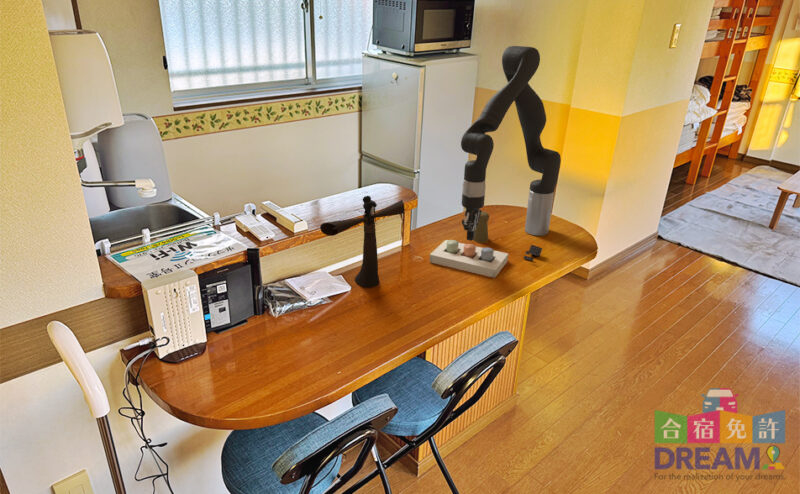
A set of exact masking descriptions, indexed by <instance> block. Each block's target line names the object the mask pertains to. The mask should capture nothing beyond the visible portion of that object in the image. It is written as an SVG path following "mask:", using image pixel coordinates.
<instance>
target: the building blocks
mask: <svg viewBox="0 0 800 494" xmlns="http://www.w3.org/2000/svg"><path fill="white" fill-rule="evenodd" d="M542 250H543V248H542V247H539V246H536V245H533V244H531V245H530V246H529V250H526V251H525V255H524V256H523V259H525V260H527V261H530V262H533V261H534V257H530V256H529V255H533V256H536V257H540V256H541V254H542Z"/></svg>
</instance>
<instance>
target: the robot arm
mask: <svg viewBox="0 0 800 494" xmlns="http://www.w3.org/2000/svg"><path fill="white" fill-rule="evenodd" d="M540 62H541V55H540V52H539V49H537V48H536V47H534V46H525V45H524V46H519V45H511V46H508V47H506V48H505V49H504V50H503V53H502V56H501V67H502V69H503V73H504V76H505V78H506V81H507V83H506V84H505V85H504V86H503V87H501V89H499V90H498V91H497V92H496V93H495V94H493V95H492V96H491V97H490V98H489V100H488V101H487V103H486V104H485V106H484V107H483V109H482V111H481V113H480V115H479V117H478V118H477V119H476V120H475V121H474V122H473V123H472V124H471V125H470V126H469V127H468V128H467V130H465V132H464V133H463V135H462V137H461V140H460V147H461V150H462V151H464V153H468V154H470V155H475V156H476V158H475V159H474V160H468V161H466V162H465V165H464V170H463V171H464V173H463V183H462V189H461V190H462V191H461V206H462V207H463V208H465V211H464V217H465V218H464V219H462V220H461V224H462V226H463V229H464V231H466V240H467V241H474V240H473V239H474V232H475V229H476V226H477V225H478V222H479V218H480V215H481V212H483V210H482V208H483V207H484V206H485V200H486V199H485V197H486V178H487V177H486V176H487V168H488V164H489V161H490V159H491V156H492V153H493V150H494V145H495V143H494V139H493V137H492V136H491V135H489V134H487V133H492V132H496V131H497V130H498V129H499V127H500V126H501V124H502V122H503V120H504V118H505V115H506V114H507V113H508V111H509V110H510V107H511V106H512V104H513V102H514V104H515V108H516V112H517V117H518V121H519V124H520V127H521V131H522V134H523V140H524V145H525V153H526V160H527V164H528V167H529V169H530V170H532V171H534V172H536V173H539V174H541V179H535V180H532V181H531V182H530V184H529V190H528V191H529V192H528V200H527V209H526V216H525V226H524V231H525V232H526V233H527V234H528V235H529V234H530V235H533V236H540V237H541V236H546V235H548V234H549V230H550V224H551V217H552V209H553V208H552V207H553V203H554V202H553V201H554V196H555V195H554V194H555V189H556V186H557V183H558V179H559V173H560V169H561V161H562V158H561V153H560V152H558V151H555V150H553V149H549V148H545V147H544V146H543V145H542V140H541V135H542V133H543V130H544V128H545V126H546V123H547V113H546V109H545V105H544V103H543V100H542V99H541V97H540V96H539V95H538V93H537V92H536V91H535V89H533V88H532V87H531V85H530V84H529V82H530V81H531V79H532V78H533V76H534V75H535V74H536V72H537V70H538V69H539V66H540Z"/></svg>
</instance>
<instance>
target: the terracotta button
mask: <svg viewBox="0 0 800 494" xmlns="http://www.w3.org/2000/svg"><path fill="white" fill-rule="evenodd" d="M464 244H465V245H464V250H463V255H462V256H465V257H470V258H474V257H475V256H476V255H475V252H476V247H477V246H476V244H473V243H464Z"/></svg>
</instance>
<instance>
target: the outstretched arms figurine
mask: <svg viewBox="0 0 800 494" xmlns="http://www.w3.org/2000/svg"><path fill="white" fill-rule="evenodd" d="M362 202H363V204H362V206H363V209H364V213H363V216H362V217H356V218H349V219H348V218H347V219H342V220H334V221H329V222H323V223H321V224H320V226H319V229H320V231H321V233H322V234H324V235H326V236H329V237H333V236H336V235H338V234H340V233H342V232H344V231H347V230H349V229H351V228H353V227H356V226H357V225H360V224H361V223H362V224H363V246H362V250H363V252H362V262H361V263H362V264H361V267H360V270H359V272H358V273H357V274H356V276H354V281H355V282H356V284H357V285H359V286H360V287H363V288H375V287H377V286H379V285H380V283H381V282H380V278H379V264H378V261H379V260H378V244H377V235H376V230H377V229H376V225H377V218H384V217H389V216H390V217H391V216H398V215H403V214H405V211H406V209H405V202H404V201H403V200H402V199H401V200H399V201H396V202H395V203H393V204H391V205H389V206H387V207H384V208H382V209H381V210H378V211H377V212H376V207H378V206H377V205H378V203H377V202H376V201H374V200H373V199H372V198H371V195H364V197H363V198H362Z"/></svg>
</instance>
